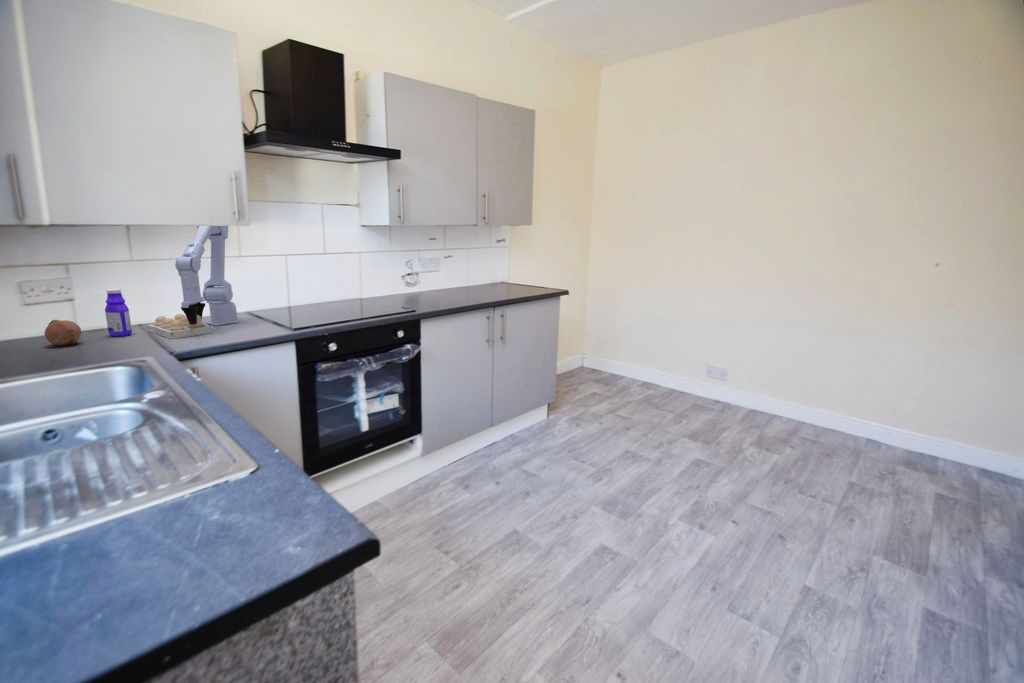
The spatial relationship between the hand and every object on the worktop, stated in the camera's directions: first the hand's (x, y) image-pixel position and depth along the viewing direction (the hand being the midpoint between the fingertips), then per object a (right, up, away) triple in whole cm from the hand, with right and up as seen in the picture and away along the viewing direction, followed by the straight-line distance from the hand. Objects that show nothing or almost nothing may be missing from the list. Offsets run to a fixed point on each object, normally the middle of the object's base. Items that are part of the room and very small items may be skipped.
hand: (195, 323), depth 194 cm
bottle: (-25, -5, -5) cm, 26 cm away
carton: (-7, -3, +2) cm, 8 cm away
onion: (-32, -9, -20) cm, 39 cm away
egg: (0, -1, 0) cm, 2 cm away
